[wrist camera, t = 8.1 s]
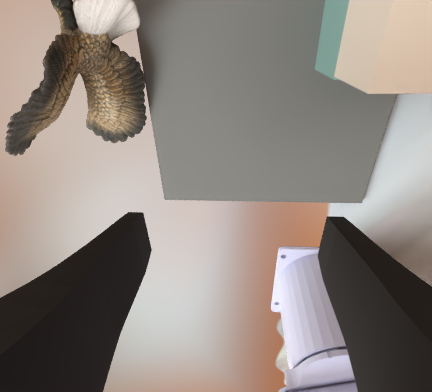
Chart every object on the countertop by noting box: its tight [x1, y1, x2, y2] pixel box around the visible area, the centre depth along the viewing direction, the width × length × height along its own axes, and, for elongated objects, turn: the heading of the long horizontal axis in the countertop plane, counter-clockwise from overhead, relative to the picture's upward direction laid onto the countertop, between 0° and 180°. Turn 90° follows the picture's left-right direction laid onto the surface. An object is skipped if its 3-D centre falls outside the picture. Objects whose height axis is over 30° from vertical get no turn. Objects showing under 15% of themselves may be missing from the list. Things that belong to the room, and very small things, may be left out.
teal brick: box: [315, 0, 349, 80], centre depth 13 cm, size 4×4×4 cm
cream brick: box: [334, 0, 432, 94], centre depth 9 cm, size 4×4×4 cm
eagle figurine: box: [5, 0, 147, 156], centre depth 15 cm, size 8×8×10 cm
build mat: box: [133, 0, 397, 203], centre depth 17 cm, size 18×16×1 cm
